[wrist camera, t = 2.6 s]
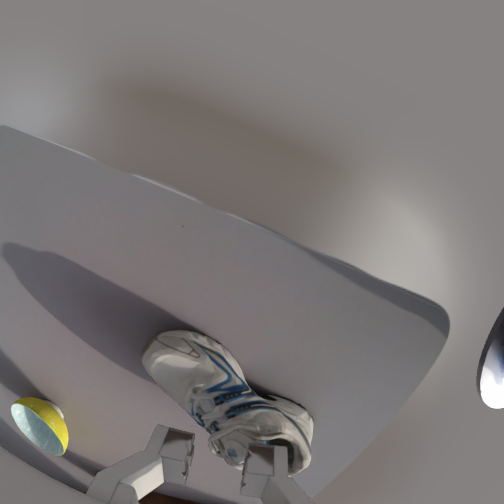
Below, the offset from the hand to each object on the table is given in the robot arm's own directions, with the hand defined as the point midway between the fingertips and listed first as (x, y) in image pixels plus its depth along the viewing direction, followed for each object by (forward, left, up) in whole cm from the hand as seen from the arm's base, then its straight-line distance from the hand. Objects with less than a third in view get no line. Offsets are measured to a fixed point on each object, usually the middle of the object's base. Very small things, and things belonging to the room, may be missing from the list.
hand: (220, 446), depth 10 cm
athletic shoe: (0, +14, -21) cm, 25 cm away
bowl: (+30, +30, -21) cm, 47 cm away
